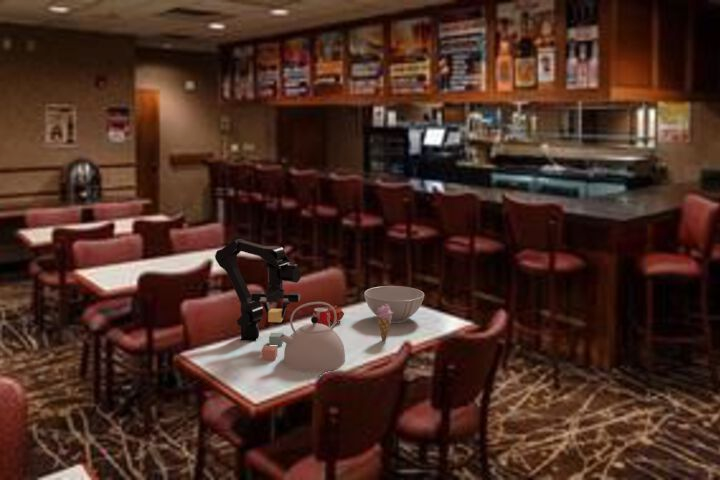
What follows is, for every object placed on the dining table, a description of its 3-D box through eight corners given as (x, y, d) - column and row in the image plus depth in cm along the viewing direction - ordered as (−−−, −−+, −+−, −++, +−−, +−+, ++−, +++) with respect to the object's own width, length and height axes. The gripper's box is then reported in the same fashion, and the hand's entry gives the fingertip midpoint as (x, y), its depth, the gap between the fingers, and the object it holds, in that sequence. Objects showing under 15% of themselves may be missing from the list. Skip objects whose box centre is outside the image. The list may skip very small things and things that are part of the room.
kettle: (288, 376, 236) (288, 314, 232) (270, 356, 256) (269, 298, 252) (354, 367, 246) (355, 306, 242) (332, 347, 266) (332, 292, 262)
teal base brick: (269, 346, 267) (269, 336, 267) (271, 342, 272) (270, 332, 272) (281, 346, 267) (281, 336, 267) (283, 342, 272) (283, 332, 272)
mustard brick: (268, 321, 266) (268, 312, 265) (270, 318, 271) (270, 308, 270) (280, 322, 265) (280, 312, 265) (283, 318, 270) (283, 308, 270)
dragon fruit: (318, 328, 296) (341, 327, 302) (327, 320, 290) (350, 320, 296) (314, 309, 299) (337, 310, 306) (323, 302, 293) (347, 302, 300)
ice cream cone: (395, 339, 277) (395, 303, 274) (389, 343, 271) (389, 307, 268) (380, 337, 279) (380, 301, 277) (374, 341, 274) (374, 305, 271)
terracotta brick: (261, 360, 252) (261, 350, 251) (264, 355, 257) (264, 345, 256) (275, 360, 252) (274, 350, 251) (277, 356, 256) (277, 346, 256)
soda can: (327, 340, 274) (327, 312, 272) (310, 339, 275) (310, 311, 273) (331, 335, 281) (331, 307, 279) (315, 334, 282) (315, 306, 280)
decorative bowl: (426, 328, 291) (426, 301, 289) (363, 327, 292) (363, 300, 289) (421, 311, 318) (421, 286, 316) (364, 310, 318) (364, 285, 316)
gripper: (247, 283, 258) (248, 323, 260) (296, 284, 257) (296, 324, 259) (253, 276, 268) (254, 314, 271) (300, 278, 268) (300, 316, 270)
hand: (275, 317), depth 268 cm, fingers closed on mustard brick, 5 cm apart
